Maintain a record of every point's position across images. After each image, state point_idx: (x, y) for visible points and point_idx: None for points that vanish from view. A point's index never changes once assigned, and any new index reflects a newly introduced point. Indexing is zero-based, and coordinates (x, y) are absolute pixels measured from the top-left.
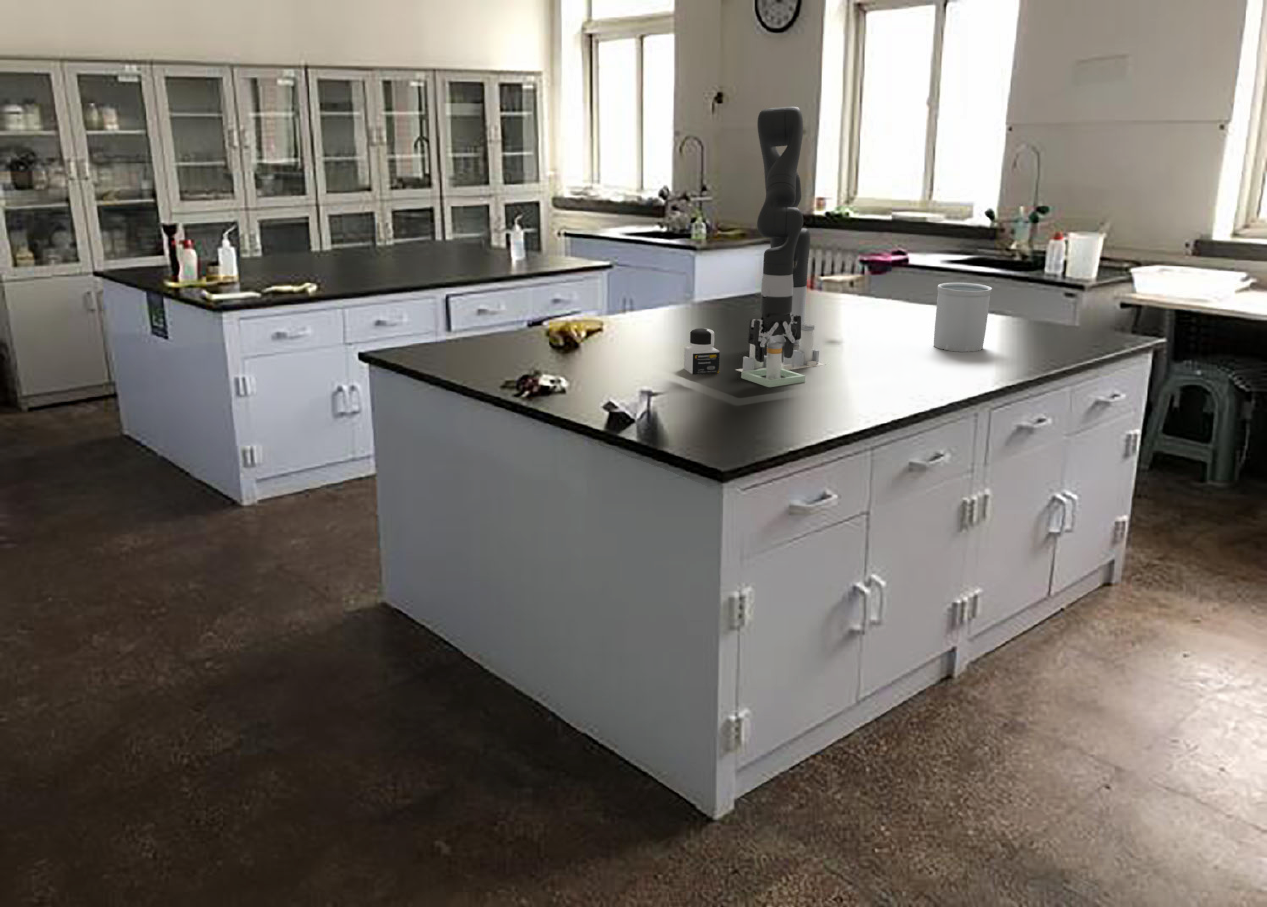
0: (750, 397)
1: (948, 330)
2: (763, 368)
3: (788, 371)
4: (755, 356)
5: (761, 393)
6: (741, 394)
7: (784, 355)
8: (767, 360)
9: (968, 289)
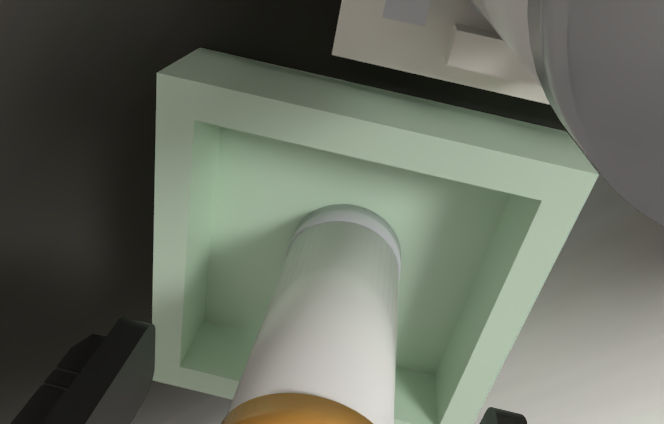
0: (41, 303)
1: None
2: (513, 66)
3: (491, 333)
4: (67, 361)
5: (148, 297)
6: (29, 236)
7: (492, 420)
8: (249, 358)
9: None
